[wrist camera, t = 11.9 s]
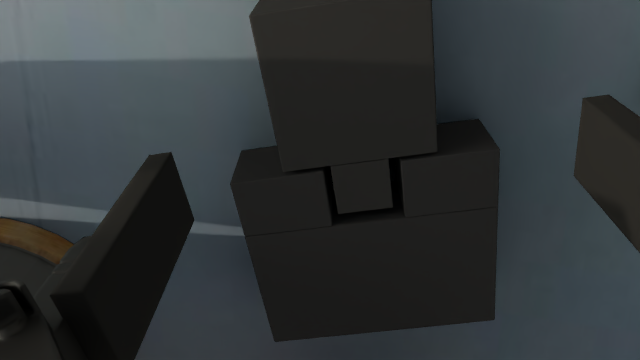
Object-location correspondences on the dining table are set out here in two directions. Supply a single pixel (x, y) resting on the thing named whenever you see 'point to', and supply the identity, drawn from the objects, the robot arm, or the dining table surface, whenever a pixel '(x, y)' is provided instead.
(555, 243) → the dining table surface
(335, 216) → the charcoal pad
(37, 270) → the decorative piece
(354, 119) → the black pad
